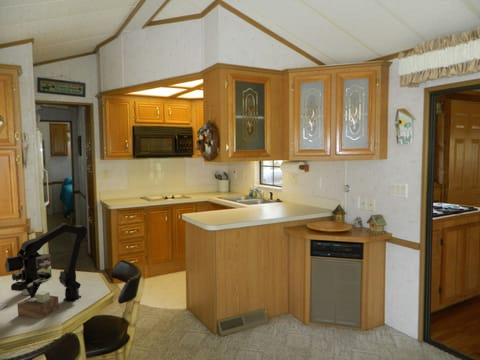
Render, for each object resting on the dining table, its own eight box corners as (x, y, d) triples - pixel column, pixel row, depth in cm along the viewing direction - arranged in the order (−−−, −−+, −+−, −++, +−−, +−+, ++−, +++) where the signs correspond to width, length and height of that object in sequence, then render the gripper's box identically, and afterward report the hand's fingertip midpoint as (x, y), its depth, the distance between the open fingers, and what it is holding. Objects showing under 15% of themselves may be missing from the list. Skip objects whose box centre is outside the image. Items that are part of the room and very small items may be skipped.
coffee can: (55, 277, 232) (54, 255, 230) (38, 283, 223) (37, 260, 222) (46, 274, 237) (44, 253, 236) (29, 279, 229) (28, 257, 227)
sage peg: (43, 302, 186) (42, 290, 185) (50, 303, 185) (49, 291, 184) (37, 305, 182) (36, 294, 182) (43, 306, 181) (43, 294, 180)
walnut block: (37, 305, 192) (37, 293, 192) (58, 308, 189) (58, 296, 188) (18, 315, 181) (17, 303, 180) (39, 318, 177) (39, 306, 177)
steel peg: (33, 308, 188) (32, 297, 188) (40, 309, 187) (39, 298, 187) (27, 312, 184) (26, 300, 184) (33, 313, 183) (32, 301, 183)
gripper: (32, 259, 195) (34, 289, 196) (0, 271, 177) (3, 303, 178) (50, 261, 192) (52, 291, 193) (19, 273, 174) (21, 306, 175)
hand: (32, 297), depth 185 cm, fingers closed
